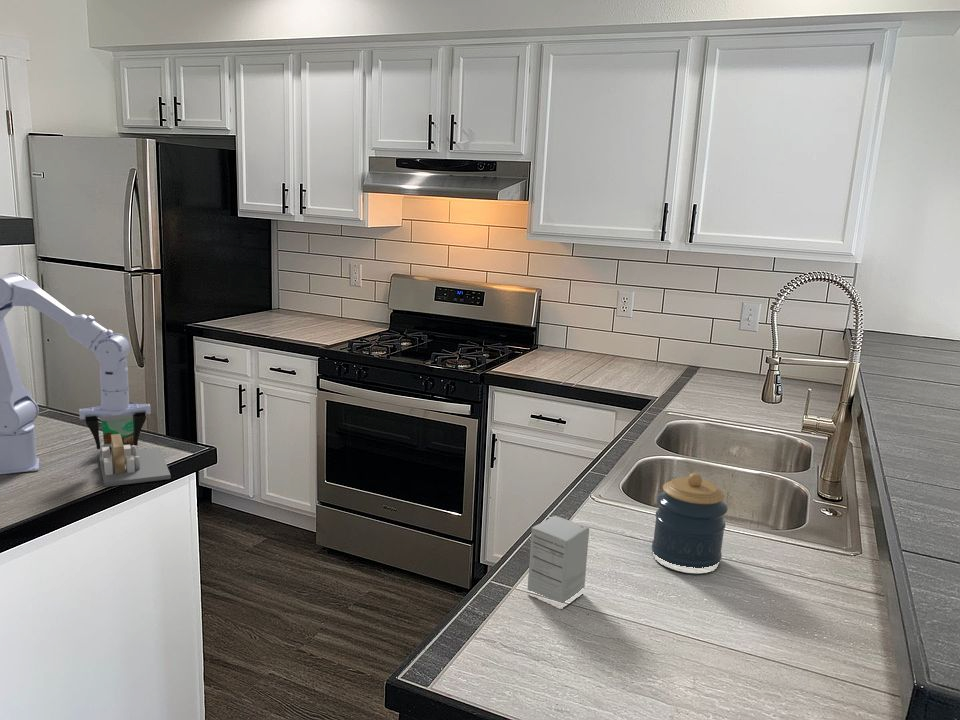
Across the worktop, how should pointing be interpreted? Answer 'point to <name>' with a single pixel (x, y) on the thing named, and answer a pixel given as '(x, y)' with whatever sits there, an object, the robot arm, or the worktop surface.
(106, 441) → the food container
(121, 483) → the board
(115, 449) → the oak block
